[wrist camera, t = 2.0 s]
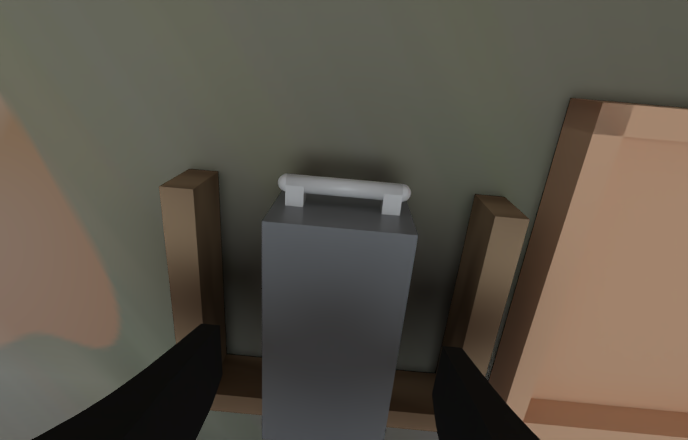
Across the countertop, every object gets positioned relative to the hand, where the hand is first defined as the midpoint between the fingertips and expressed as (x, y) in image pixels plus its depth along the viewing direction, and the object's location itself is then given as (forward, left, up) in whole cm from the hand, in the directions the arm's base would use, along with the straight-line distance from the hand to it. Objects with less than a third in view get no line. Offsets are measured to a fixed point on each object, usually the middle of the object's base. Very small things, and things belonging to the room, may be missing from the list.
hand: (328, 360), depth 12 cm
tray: (+1, -14, -5) cm, 15 cm away
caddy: (0, 0, -6) cm, 6 cm away
